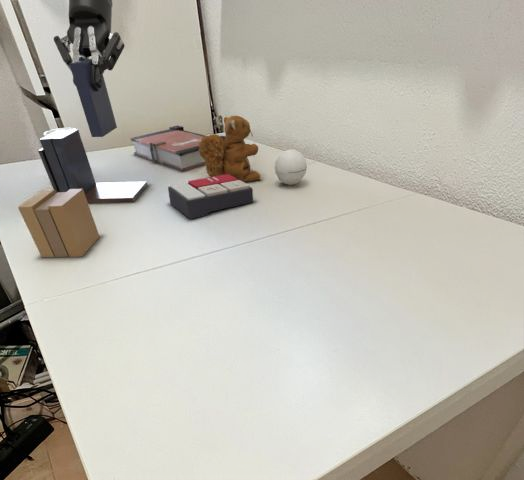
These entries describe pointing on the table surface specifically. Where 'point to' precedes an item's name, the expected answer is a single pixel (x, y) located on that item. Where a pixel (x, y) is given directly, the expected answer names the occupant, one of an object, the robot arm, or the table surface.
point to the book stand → (81, 170)
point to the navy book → (93, 100)
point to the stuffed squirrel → (230, 151)
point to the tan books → (60, 223)
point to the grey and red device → (209, 195)
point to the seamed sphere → (290, 167)
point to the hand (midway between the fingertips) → (87, 88)
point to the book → (171, 148)
